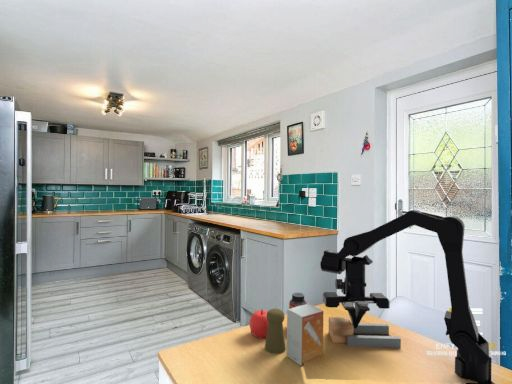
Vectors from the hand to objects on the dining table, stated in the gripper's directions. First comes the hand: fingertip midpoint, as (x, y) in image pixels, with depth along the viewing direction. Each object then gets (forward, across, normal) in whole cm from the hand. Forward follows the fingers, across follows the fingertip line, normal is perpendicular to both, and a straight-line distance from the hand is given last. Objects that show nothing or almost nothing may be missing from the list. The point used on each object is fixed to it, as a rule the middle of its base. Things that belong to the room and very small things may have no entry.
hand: (354, 328), depth 90 cm
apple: (+4, +28, -3) cm, 29 cm away
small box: (+4, +16, +9) cm, 19 cm away
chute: (+4, -4, 0) cm, 6 cm away
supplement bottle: (+4, +16, -8) cm, 19 cm away
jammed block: (+3, +4, 0) cm, 5 cm away
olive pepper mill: (+4, +24, +5) cm, 25 cm away
